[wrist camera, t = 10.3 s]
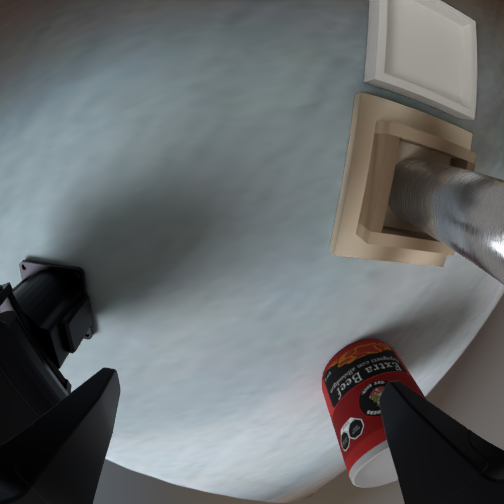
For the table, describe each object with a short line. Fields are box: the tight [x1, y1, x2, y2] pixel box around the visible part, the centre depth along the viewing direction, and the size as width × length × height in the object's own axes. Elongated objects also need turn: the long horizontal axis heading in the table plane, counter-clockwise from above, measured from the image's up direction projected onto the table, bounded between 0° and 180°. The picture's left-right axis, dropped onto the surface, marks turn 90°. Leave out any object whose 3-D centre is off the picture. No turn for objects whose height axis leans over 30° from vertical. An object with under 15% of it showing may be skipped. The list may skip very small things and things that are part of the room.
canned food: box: [322, 340, 426, 487], centre depth 21 cm, size 8×8×11 cm
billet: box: [388, 158, 504, 284], centre depth 13 cm, size 4×4×12 cm
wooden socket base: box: [329, 92, 477, 267], centre depth 18 cm, size 10×11×3 cm
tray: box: [363, 0, 477, 120], centre depth 15 cm, size 9×9×2 cm
